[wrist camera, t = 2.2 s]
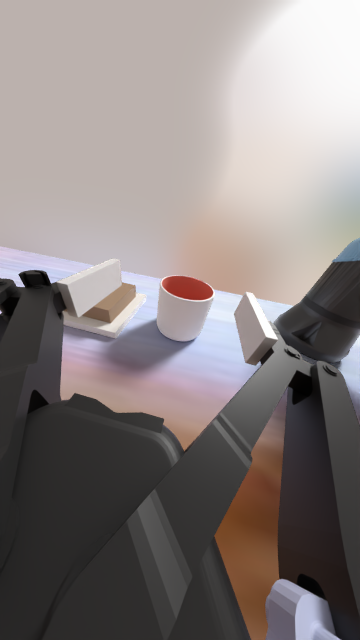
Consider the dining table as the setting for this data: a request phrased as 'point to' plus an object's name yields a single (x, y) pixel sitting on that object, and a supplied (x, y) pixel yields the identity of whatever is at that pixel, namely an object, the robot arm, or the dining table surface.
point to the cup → (183, 307)
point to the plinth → (104, 325)
